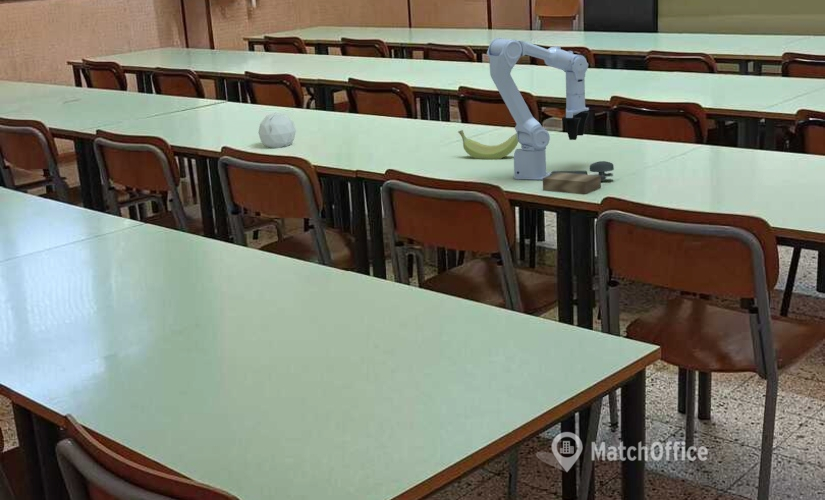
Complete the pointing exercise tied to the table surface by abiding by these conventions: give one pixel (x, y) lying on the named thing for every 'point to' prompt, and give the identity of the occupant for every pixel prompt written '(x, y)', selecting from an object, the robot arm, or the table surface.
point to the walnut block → (572, 183)
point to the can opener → (595, 170)
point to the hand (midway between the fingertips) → (576, 137)
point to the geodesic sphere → (277, 131)
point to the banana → (488, 148)
